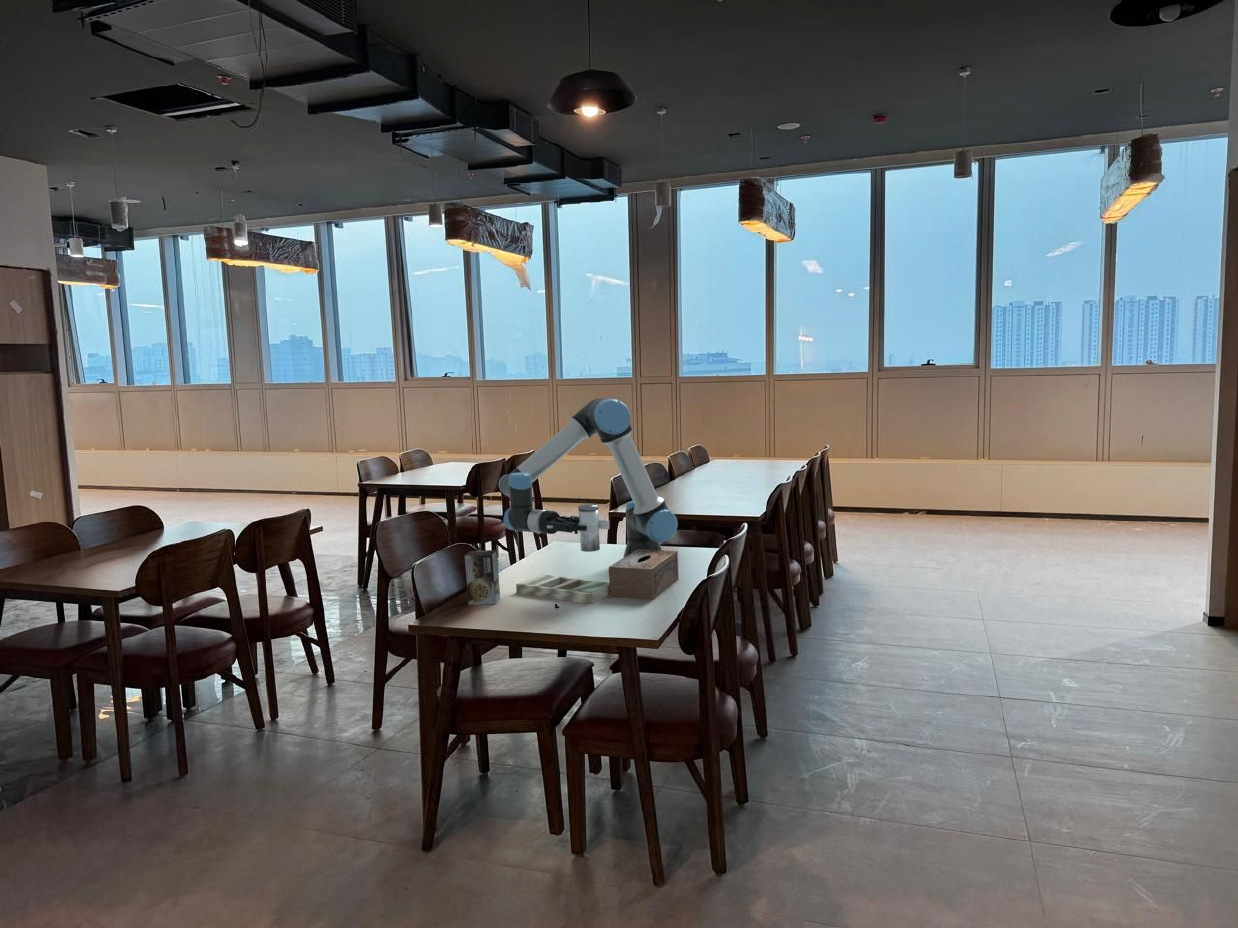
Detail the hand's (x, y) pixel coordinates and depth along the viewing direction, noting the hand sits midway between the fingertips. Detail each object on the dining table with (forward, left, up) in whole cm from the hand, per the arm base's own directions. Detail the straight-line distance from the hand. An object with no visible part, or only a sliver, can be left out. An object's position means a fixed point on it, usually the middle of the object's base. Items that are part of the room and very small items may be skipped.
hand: (602, 526), depth 255 cm
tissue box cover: (-12, -11, -23) cm, 29 cm away
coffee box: (+38, -1, -23) cm, 45 cm away
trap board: (+13, -9, -23) cm, 28 cm away
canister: (+4, -3, -8) cm, 9 cm away
